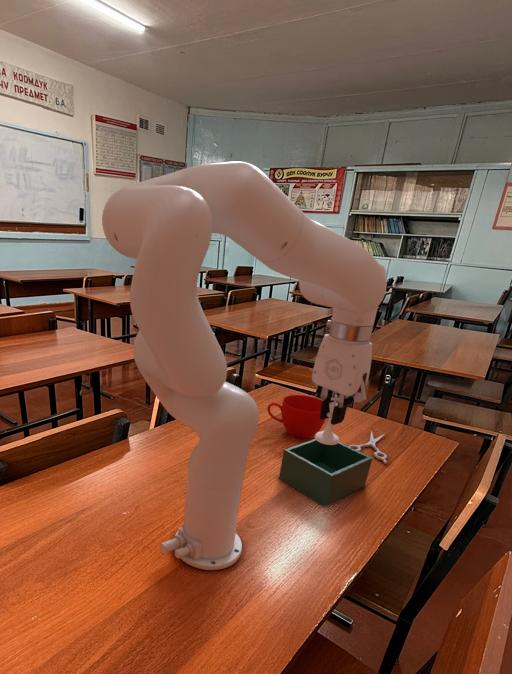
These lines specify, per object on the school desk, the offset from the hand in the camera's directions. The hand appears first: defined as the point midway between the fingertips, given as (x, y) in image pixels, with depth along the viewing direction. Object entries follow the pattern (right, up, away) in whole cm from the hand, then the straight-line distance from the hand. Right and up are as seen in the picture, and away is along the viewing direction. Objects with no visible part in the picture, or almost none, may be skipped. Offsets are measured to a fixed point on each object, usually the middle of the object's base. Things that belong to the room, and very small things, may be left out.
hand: (330, 420), depth 90 cm
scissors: (+23, -7, +36) cm, 43 cm away
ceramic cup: (+1, -3, +39) cm, 39 cm away
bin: (+2, -15, +15) cm, 21 cm away
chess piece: (0, -4, +2) cm, 5 cm away
